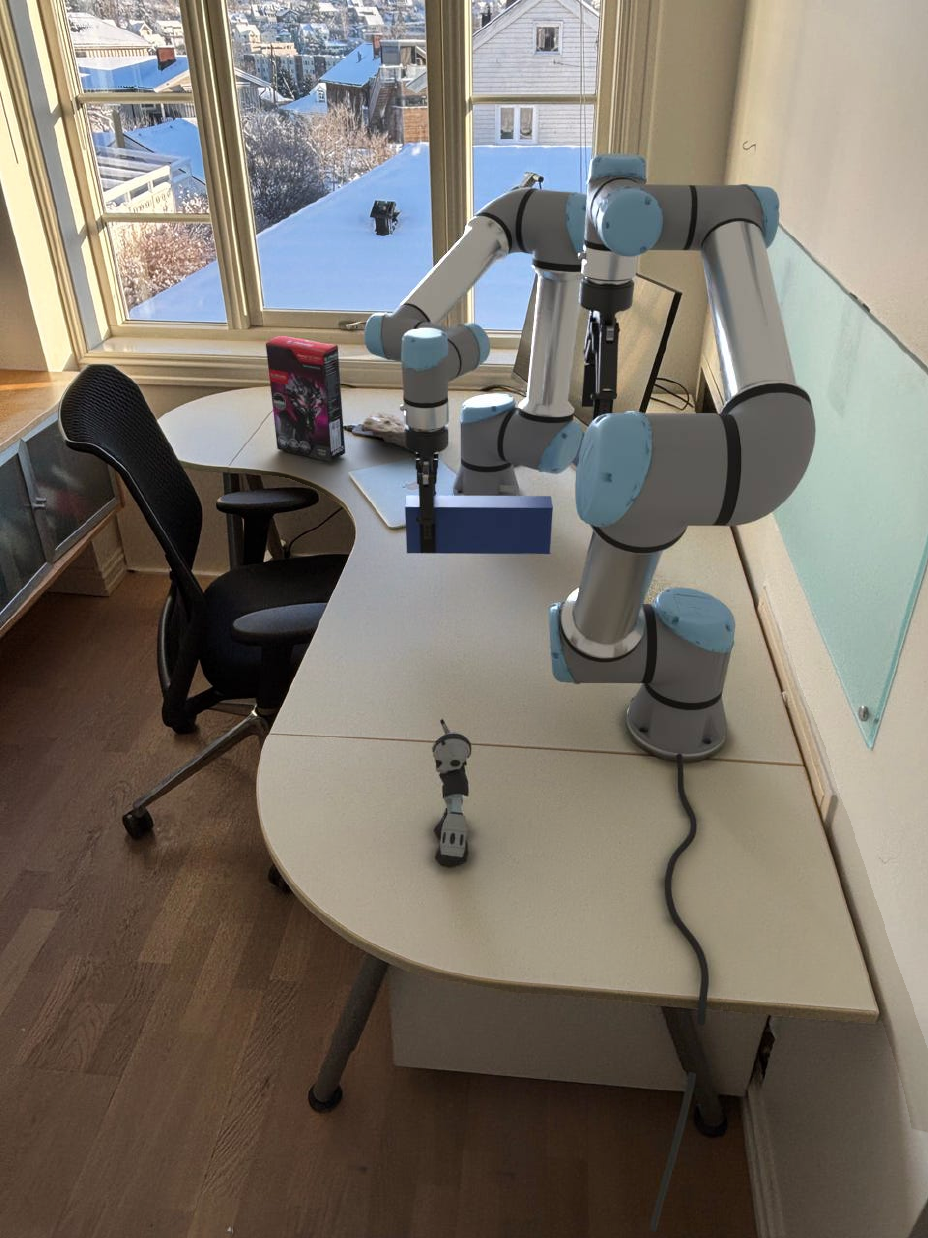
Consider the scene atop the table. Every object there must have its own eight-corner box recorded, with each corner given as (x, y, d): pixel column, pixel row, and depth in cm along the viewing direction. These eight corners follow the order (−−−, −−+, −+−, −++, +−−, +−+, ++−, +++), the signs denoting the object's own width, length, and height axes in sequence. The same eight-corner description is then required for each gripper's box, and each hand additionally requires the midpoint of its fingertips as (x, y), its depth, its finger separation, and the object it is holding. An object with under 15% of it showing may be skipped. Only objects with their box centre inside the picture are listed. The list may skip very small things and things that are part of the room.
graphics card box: (274, 450, 230) (262, 341, 215) (291, 440, 235) (280, 333, 220) (331, 464, 224) (323, 352, 209) (347, 453, 229) (340, 344, 214)
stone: (345, 437, 230) (349, 413, 227) (367, 428, 243) (371, 405, 241) (423, 461, 226) (429, 437, 224) (441, 451, 239) (446, 428, 237)
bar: (548, 541, 171) (551, 496, 166) (549, 554, 167) (552, 507, 162) (408, 541, 171) (406, 495, 166) (406, 553, 167) (405, 506, 162)
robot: (474, 902, 115) (476, 785, 104) (435, 903, 115) (433, 787, 104) (466, 791, 132) (467, 679, 120) (432, 792, 131) (430, 680, 120)
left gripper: (406, 404, 163) (410, 521, 176) (400, 445, 148) (405, 569, 162) (449, 405, 163) (450, 521, 176) (447, 445, 148) (448, 569, 162)
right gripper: (572, 256, 139) (563, 393, 151) (590, 301, 118) (577, 455, 130) (622, 257, 139) (608, 393, 151) (649, 302, 118) (631, 456, 130)
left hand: (428, 544), depth 169 cm, fingers closed on bar, 4 cm apart
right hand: (594, 422), depth 140 cm, fingers open, 13 cm apart
